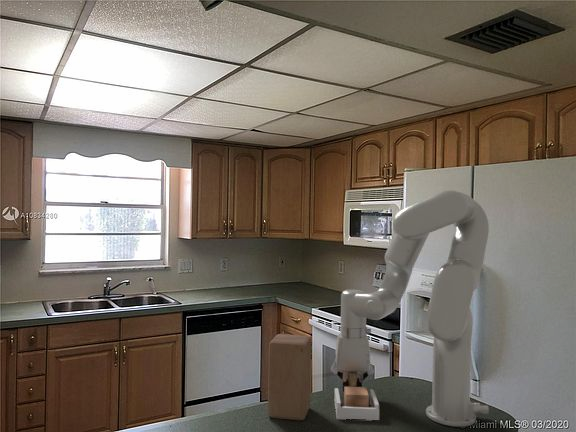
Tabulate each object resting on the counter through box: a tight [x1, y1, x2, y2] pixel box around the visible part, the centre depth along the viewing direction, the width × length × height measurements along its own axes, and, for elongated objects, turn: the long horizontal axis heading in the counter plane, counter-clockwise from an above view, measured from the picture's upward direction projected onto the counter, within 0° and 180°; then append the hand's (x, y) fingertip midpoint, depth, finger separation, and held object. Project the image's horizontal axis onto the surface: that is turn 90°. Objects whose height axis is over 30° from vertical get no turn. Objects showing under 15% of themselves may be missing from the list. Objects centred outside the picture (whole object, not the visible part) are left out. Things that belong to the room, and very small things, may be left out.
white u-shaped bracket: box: [333, 387, 380, 421], centre depth 129 cm, size 11×12×4 cm
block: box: [343, 371, 370, 407], centre depth 134 cm, size 6×15×7 cm, turn 178°
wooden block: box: [267, 333, 312, 421], centre depth 127 cm, size 10×10×20 cm
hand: (352, 393), depth 140 cm, fingers closed on block, 2 cm apart
